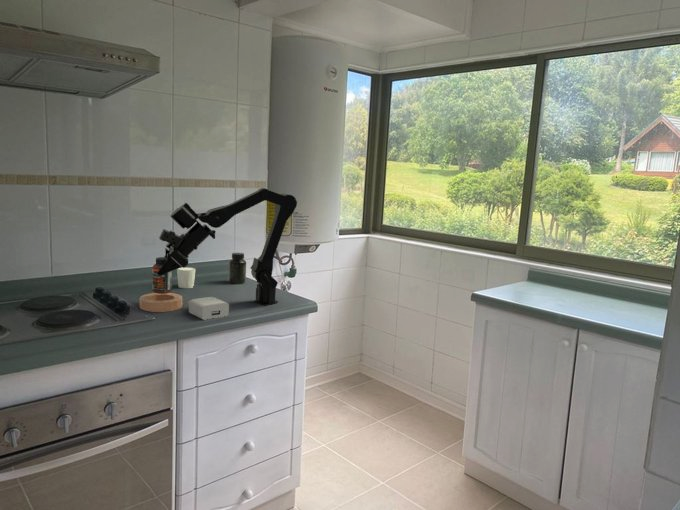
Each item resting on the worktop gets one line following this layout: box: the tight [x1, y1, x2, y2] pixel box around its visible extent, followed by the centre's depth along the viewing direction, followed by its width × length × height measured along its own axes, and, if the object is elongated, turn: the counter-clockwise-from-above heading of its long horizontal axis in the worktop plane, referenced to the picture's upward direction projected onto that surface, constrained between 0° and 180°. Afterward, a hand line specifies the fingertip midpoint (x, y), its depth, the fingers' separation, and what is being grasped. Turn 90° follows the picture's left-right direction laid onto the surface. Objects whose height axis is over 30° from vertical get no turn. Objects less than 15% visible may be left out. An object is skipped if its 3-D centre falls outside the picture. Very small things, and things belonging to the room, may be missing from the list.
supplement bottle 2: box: [228, 252, 247, 285], centre depth 210 cm, size 7×7×12 cm
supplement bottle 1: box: [151, 256, 173, 294], centre depth 168 cm, size 6×6×11 cm
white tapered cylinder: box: [176, 266, 196, 289], centre depth 198 cm, size 7×7×7 cm
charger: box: [187, 296, 230, 321], centre depth 166 cm, size 5×9×15 cm
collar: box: [139, 292, 183, 313], centre depth 170 cm, size 13×13×3 cm
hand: (157, 272), depth 167 cm, fingers closed on supplement bottle 1, 6 cm apart
